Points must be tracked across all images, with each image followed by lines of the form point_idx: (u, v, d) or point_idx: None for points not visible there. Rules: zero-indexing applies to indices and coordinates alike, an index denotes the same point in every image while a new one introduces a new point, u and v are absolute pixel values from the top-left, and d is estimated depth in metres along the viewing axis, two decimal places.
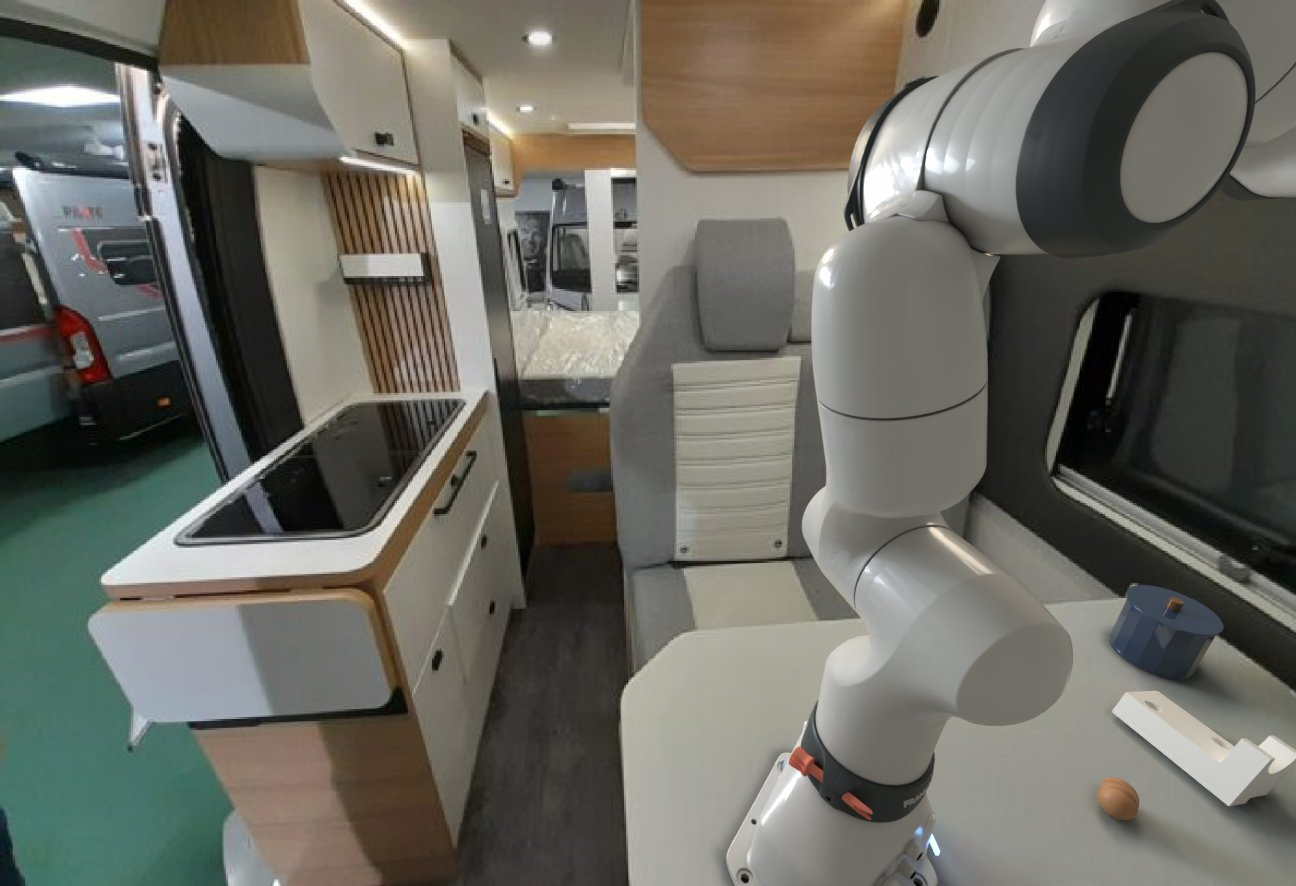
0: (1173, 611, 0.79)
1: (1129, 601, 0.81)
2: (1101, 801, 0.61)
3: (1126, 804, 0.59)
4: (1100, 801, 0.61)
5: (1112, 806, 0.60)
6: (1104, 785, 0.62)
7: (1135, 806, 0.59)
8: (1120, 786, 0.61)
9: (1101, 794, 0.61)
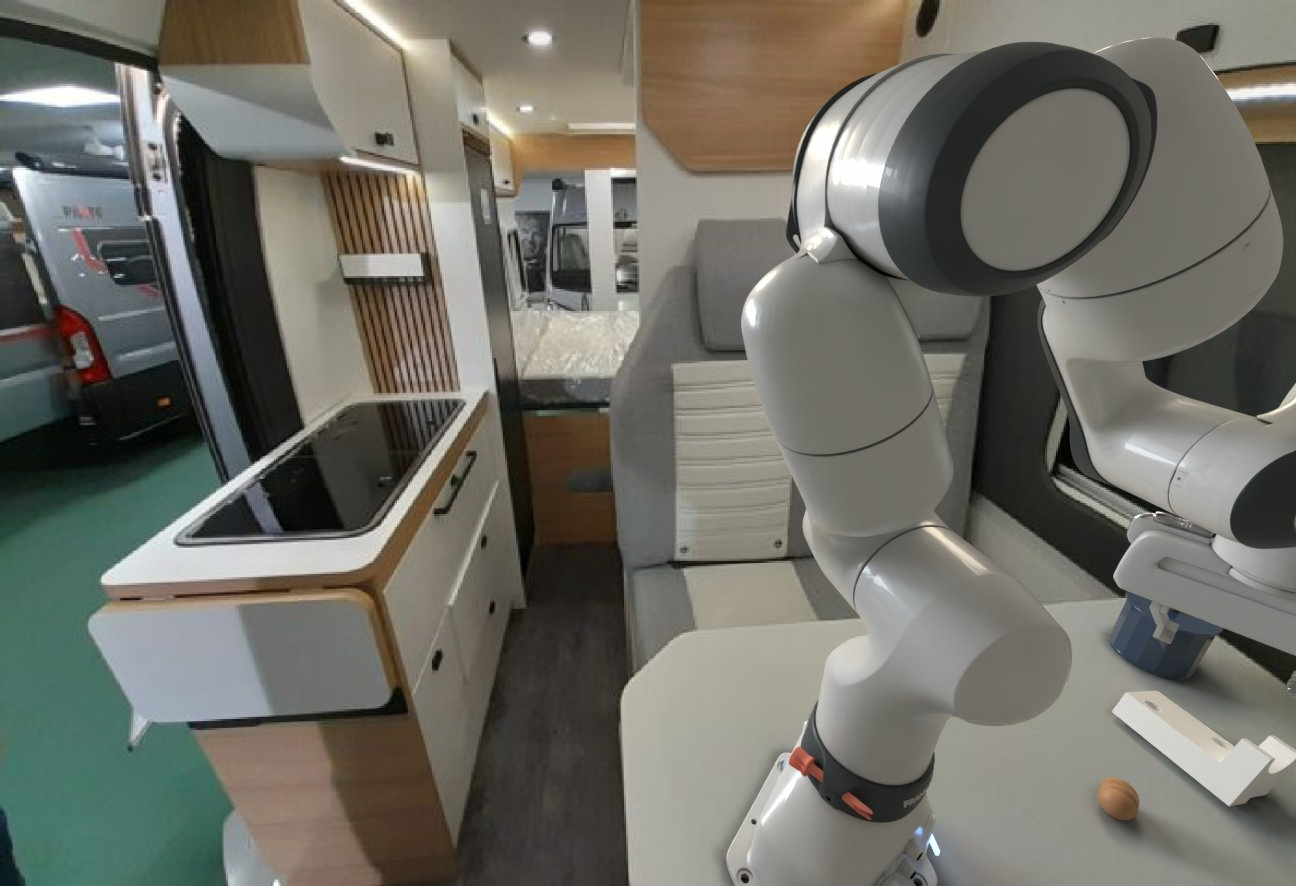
0: (1173, 611, 0.79)
1: (1129, 601, 0.81)
2: (1101, 801, 0.61)
3: (1126, 804, 0.59)
4: (1100, 801, 0.61)
5: (1112, 806, 0.60)
6: (1104, 785, 0.62)
7: (1135, 806, 0.59)
8: (1120, 786, 0.61)
9: (1101, 794, 0.61)
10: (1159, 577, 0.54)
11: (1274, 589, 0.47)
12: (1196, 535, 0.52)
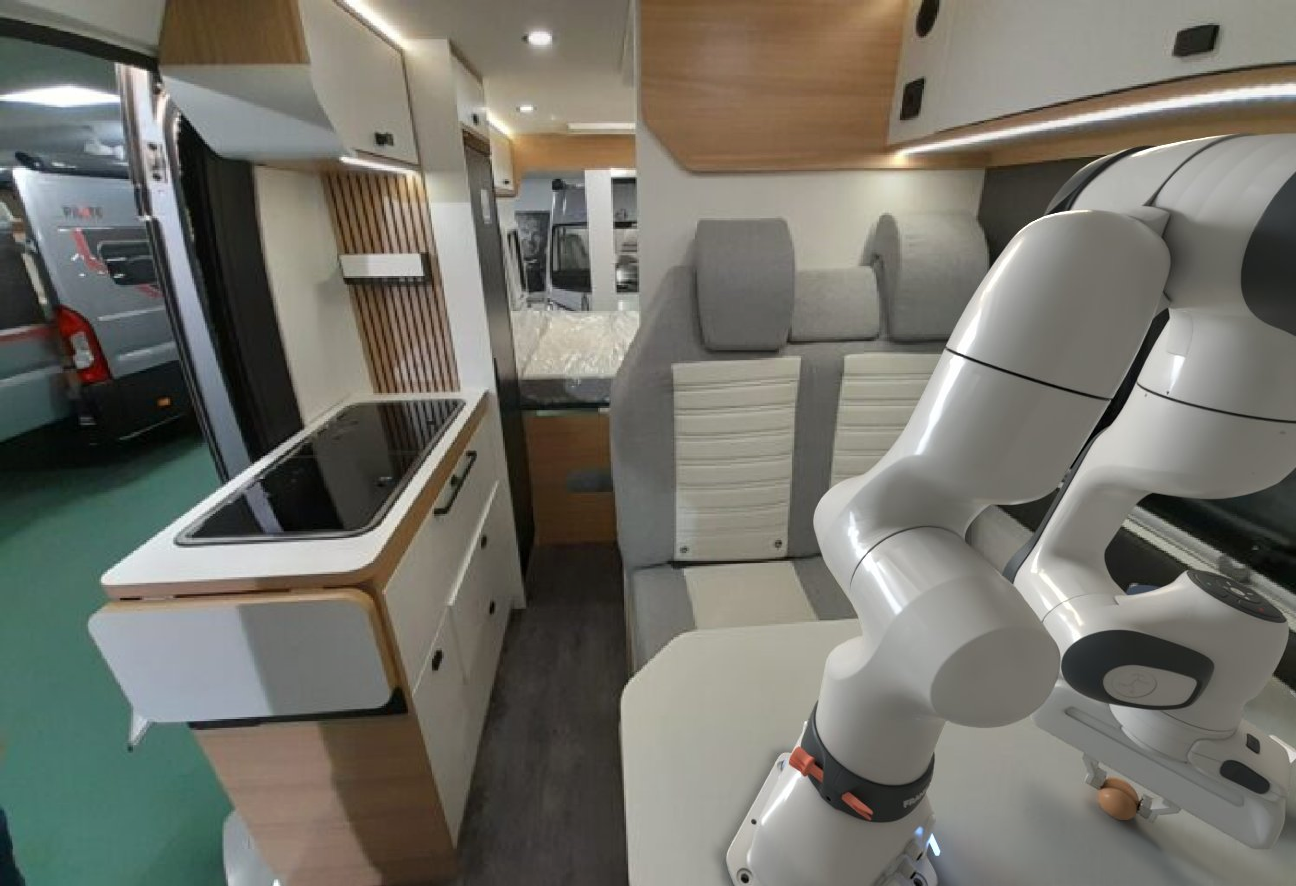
0: None
1: None
2: (1101, 801, 0.61)
3: (1125, 804, 0.59)
4: (1100, 801, 0.61)
5: (1112, 806, 0.60)
6: (1103, 785, 0.62)
7: (1134, 806, 0.59)
8: (1119, 786, 0.61)
9: (1101, 794, 0.61)
10: (1066, 722, 0.61)
11: (1156, 750, 0.55)
12: None
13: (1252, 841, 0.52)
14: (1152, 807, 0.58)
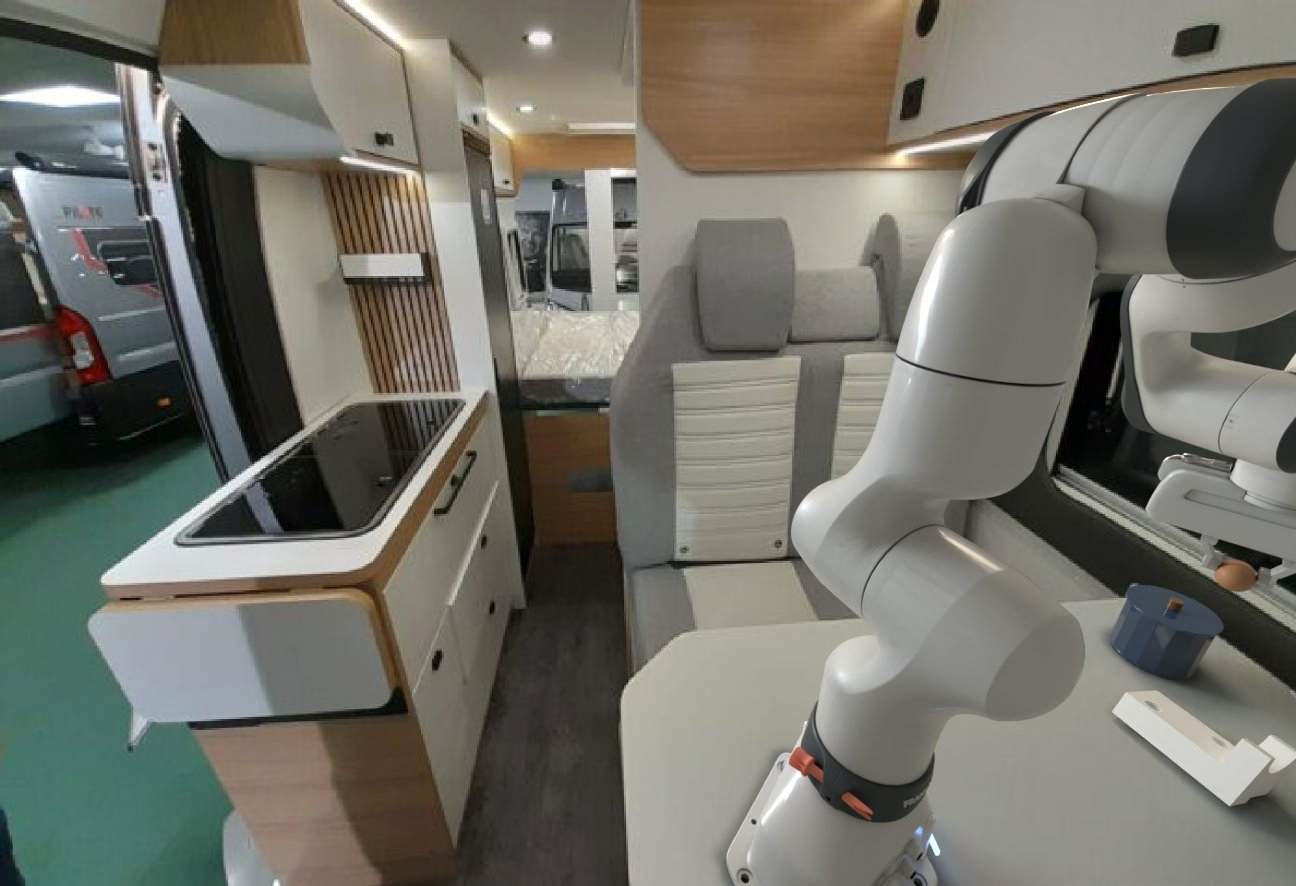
0: (1173, 611, 0.79)
1: (1129, 601, 0.81)
2: (1219, 577, 0.66)
3: (1245, 574, 0.64)
4: (1218, 578, 0.66)
5: (1231, 578, 0.65)
6: (1220, 566, 0.67)
7: (1253, 576, 0.64)
8: (1237, 563, 0.66)
9: (1219, 572, 0.66)
10: (1186, 506, 0.66)
11: (1281, 508, 0.59)
12: (1216, 470, 0.64)
13: None
14: (1271, 574, 0.63)
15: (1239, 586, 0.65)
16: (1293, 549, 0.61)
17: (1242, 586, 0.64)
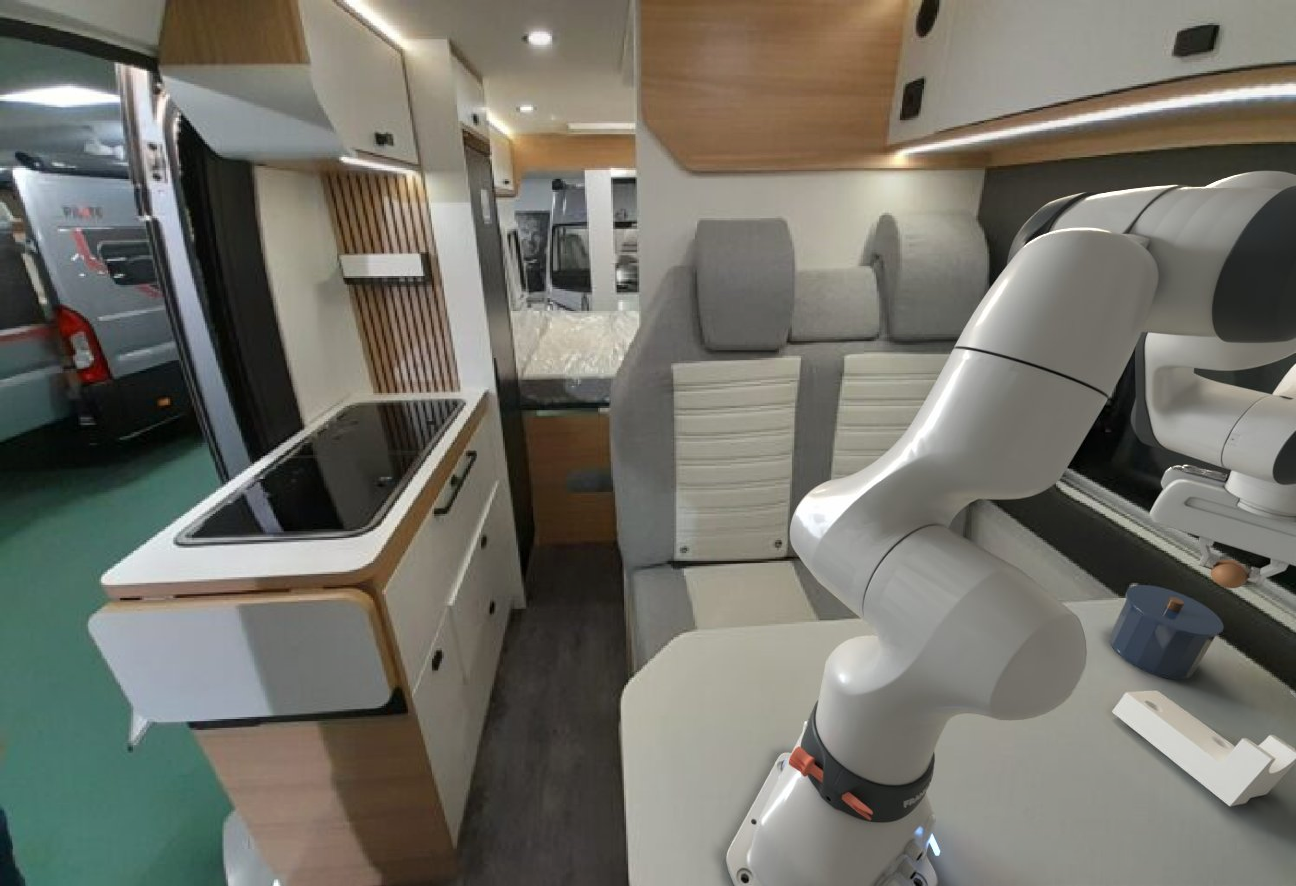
0: (1173, 611, 0.79)
1: (1129, 601, 0.81)
2: (1215, 575, 0.74)
3: (1238, 572, 0.72)
4: (1214, 576, 0.74)
5: (1225, 576, 0.73)
6: (1216, 565, 0.75)
7: (1245, 574, 0.72)
8: (1231, 562, 0.74)
9: (1214, 570, 0.74)
10: (1185, 512, 0.74)
11: (1270, 514, 0.68)
12: (1213, 480, 0.73)
13: None
14: (1261, 572, 0.71)
15: (1232, 583, 0.73)
16: (1280, 550, 0.69)
17: (1235, 583, 0.72)
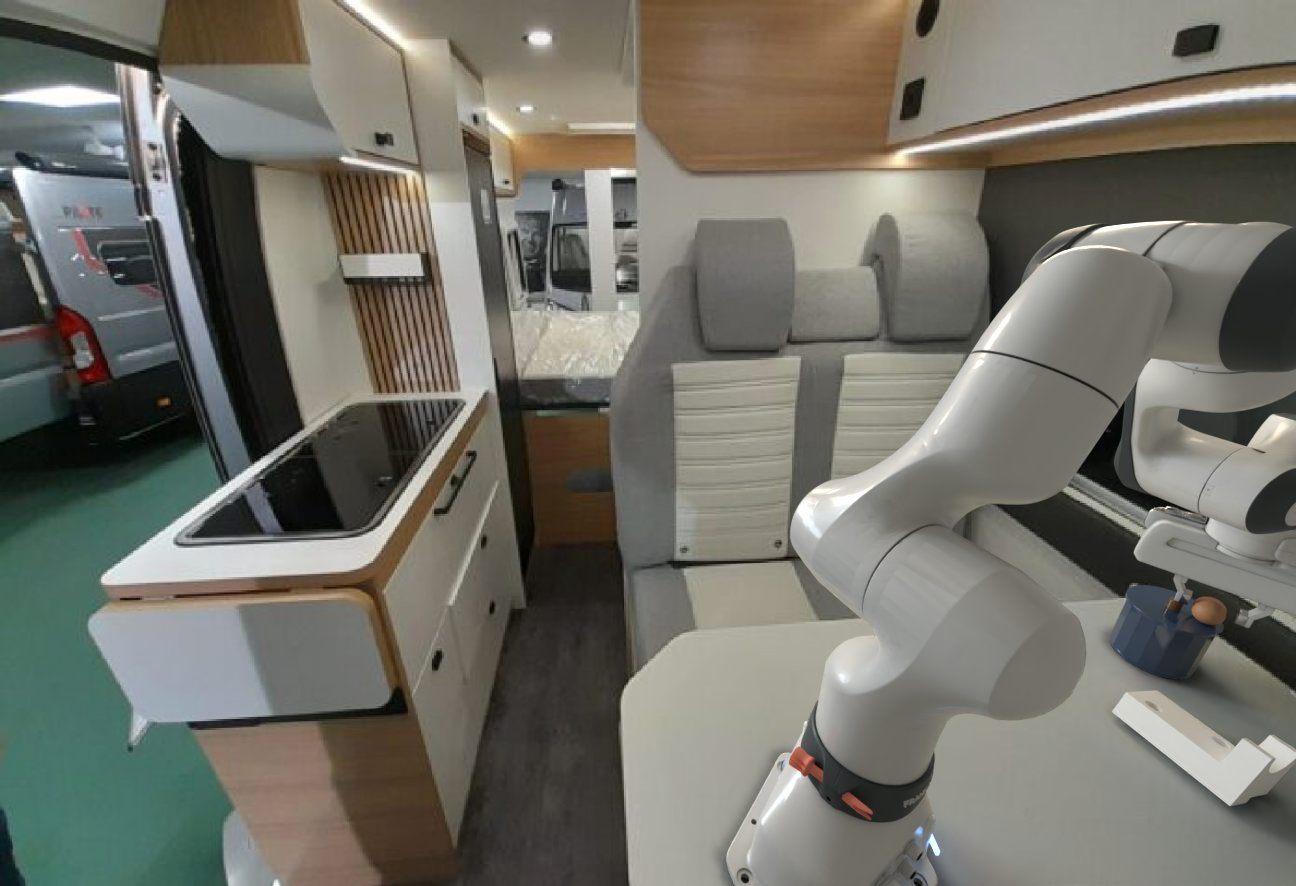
0: (1173, 611, 0.79)
1: (1129, 601, 0.81)
2: (1195, 612, 0.77)
3: (1217, 611, 0.75)
4: (1194, 612, 0.77)
5: (1205, 614, 0.76)
6: (1197, 602, 0.78)
7: (1224, 613, 0.75)
8: (1211, 600, 0.76)
9: (1195, 607, 0.77)
10: (1168, 552, 0.77)
11: (1247, 557, 0.70)
12: (1194, 522, 0.75)
13: None
14: (1249, 615, 0.73)
15: (1212, 620, 0.75)
16: (1257, 592, 0.71)
17: (1214, 621, 0.75)
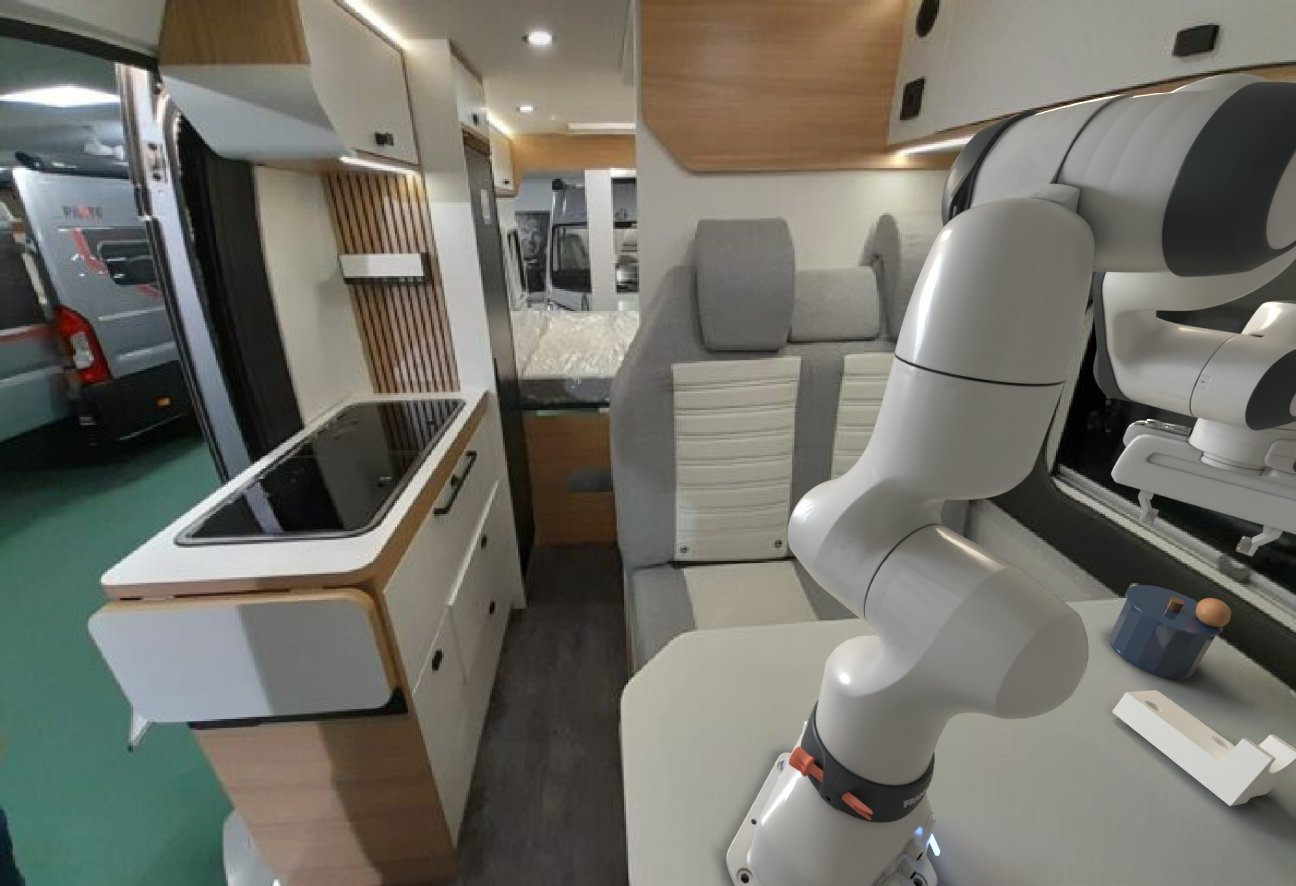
0: (1173, 611, 0.79)
1: (1129, 601, 0.81)
2: (1201, 612, 0.76)
3: (1224, 615, 0.75)
4: (1199, 612, 0.76)
5: (1211, 615, 0.75)
6: (1204, 602, 0.77)
7: (1229, 617, 0.75)
8: (1219, 603, 0.76)
9: (1202, 607, 0.76)
10: (1148, 469, 0.70)
11: (1234, 467, 0.63)
12: (1176, 435, 0.68)
13: None
14: (1252, 541, 0.65)
15: (1215, 622, 0.75)
16: (1244, 507, 0.64)
17: (1217, 623, 0.75)
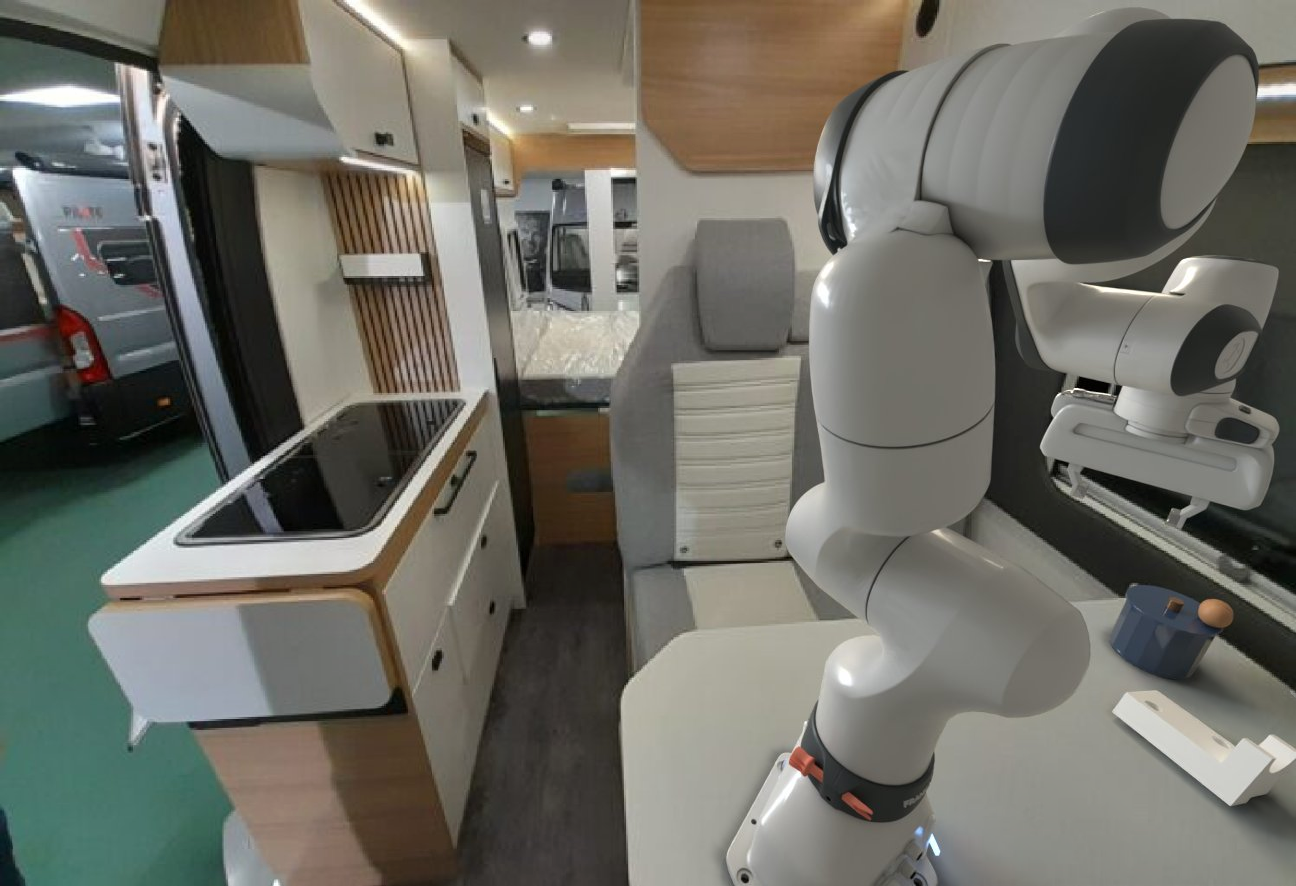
0: (1173, 611, 0.79)
1: (1129, 601, 0.81)
2: (1204, 612, 0.76)
3: (1227, 617, 0.74)
4: (1202, 612, 0.76)
5: (1214, 616, 0.75)
6: (1208, 603, 0.77)
7: (1232, 619, 0.75)
8: (1224, 605, 0.76)
9: (1206, 608, 0.76)
10: (1075, 441, 0.67)
11: (1157, 435, 0.60)
12: (1102, 404, 0.65)
13: (1244, 501, 0.57)
14: (1181, 513, 0.62)
15: (1216, 624, 0.75)
16: (1170, 477, 0.61)
17: (1219, 624, 0.75)
